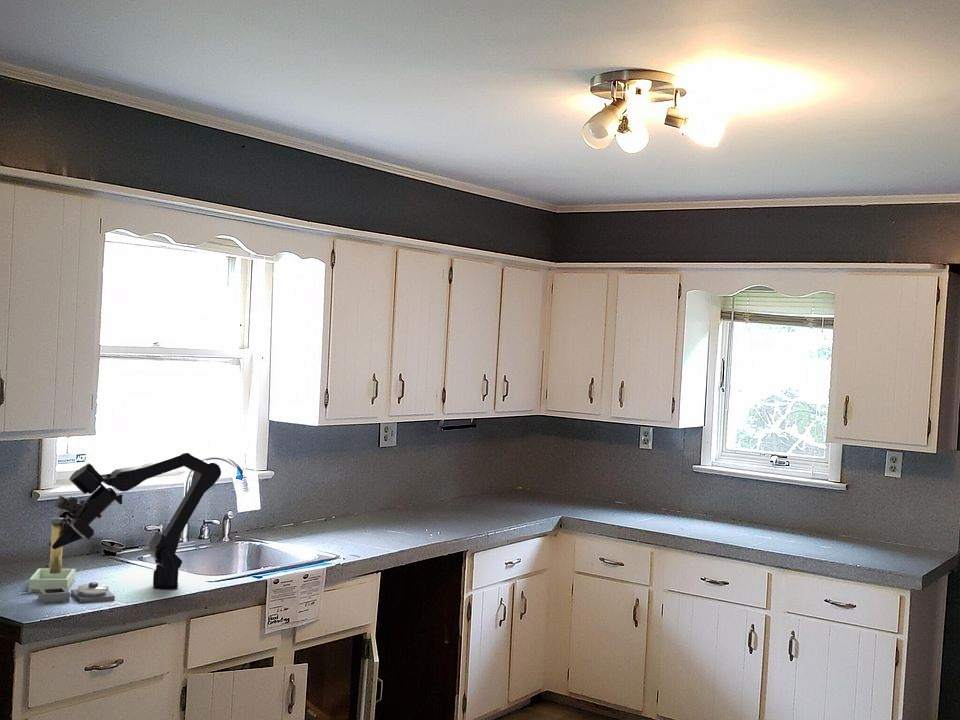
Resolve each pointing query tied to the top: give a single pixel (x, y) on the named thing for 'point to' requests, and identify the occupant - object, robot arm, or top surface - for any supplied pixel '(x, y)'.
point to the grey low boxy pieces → (77, 594)
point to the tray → (51, 579)
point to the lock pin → (57, 553)
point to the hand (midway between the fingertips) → (51, 547)
